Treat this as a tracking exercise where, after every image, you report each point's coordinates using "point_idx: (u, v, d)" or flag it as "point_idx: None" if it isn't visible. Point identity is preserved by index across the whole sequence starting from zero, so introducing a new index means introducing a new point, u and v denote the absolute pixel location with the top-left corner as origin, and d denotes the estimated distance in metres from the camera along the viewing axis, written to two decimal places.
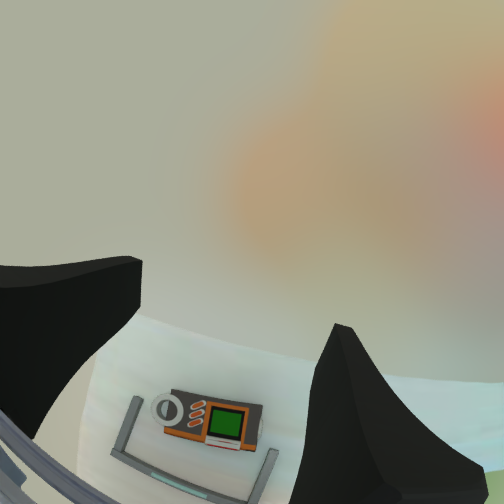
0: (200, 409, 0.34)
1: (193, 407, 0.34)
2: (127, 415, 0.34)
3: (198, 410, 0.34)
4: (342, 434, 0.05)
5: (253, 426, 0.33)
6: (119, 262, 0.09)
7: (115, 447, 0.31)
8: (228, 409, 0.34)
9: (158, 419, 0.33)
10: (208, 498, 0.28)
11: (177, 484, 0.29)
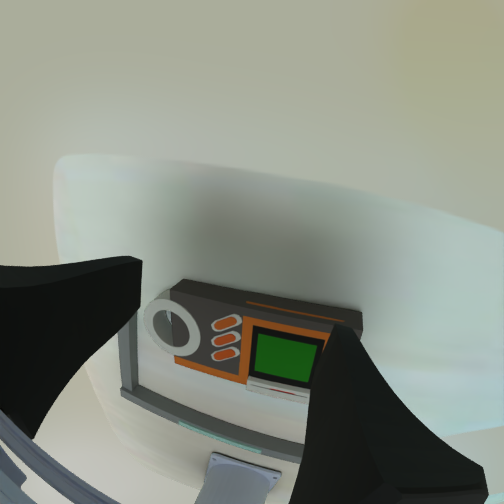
0: (231, 331, 0.18)
1: (217, 327, 0.18)
2: (120, 343, 0.23)
3: (228, 333, 0.18)
4: (342, 434, 0.05)
5: None
6: (119, 262, 0.09)
7: (124, 385, 0.25)
8: (289, 334, 0.17)
9: (161, 343, 0.21)
10: (263, 452, 0.22)
11: (217, 436, 0.23)
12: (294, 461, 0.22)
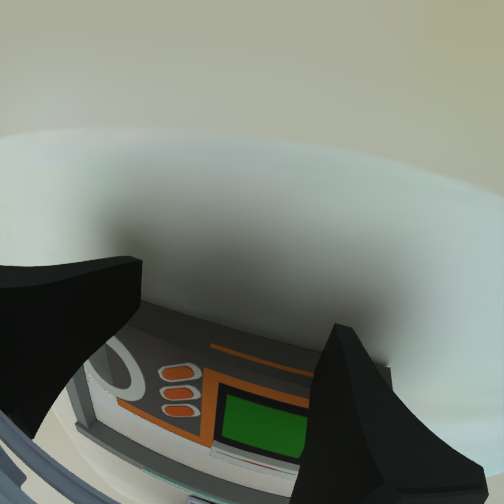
0: (186, 385, 0.11)
1: (166, 375, 0.11)
2: None
3: (182, 386, 0.11)
4: (342, 434, 0.05)
5: None
6: (119, 262, 0.09)
7: (79, 420, 0.18)
8: (275, 402, 0.10)
9: (99, 379, 0.13)
10: None
11: (189, 489, 0.16)
12: None
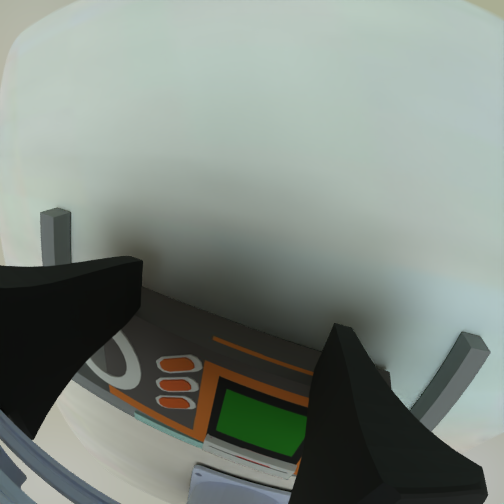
0: (185, 378, 0.11)
1: (164, 366, 0.11)
2: None
3: (180, 378, 0.11)
4: (341, 434, 0.05)
5: None
6: (119, 262, 0.09)
7: None
8: (275, 399, 0.10)
9: (92, 365, 0.13)
10: None
11: (197, 442, 0.13)
12: None
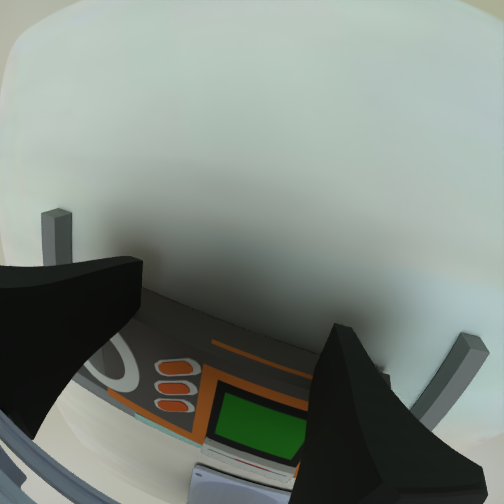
0: (183, 381, 0.11)
1: (162, 369, 0.11)
2: None
3: (179, 381, 0.11)
4: (341, 434, 0.05)
5: None
6: (119, 262, 0.09)
7: None
8: (274, 403, 0.10)
9: (90, 368, 0.13)
10: None
11: None
12: None
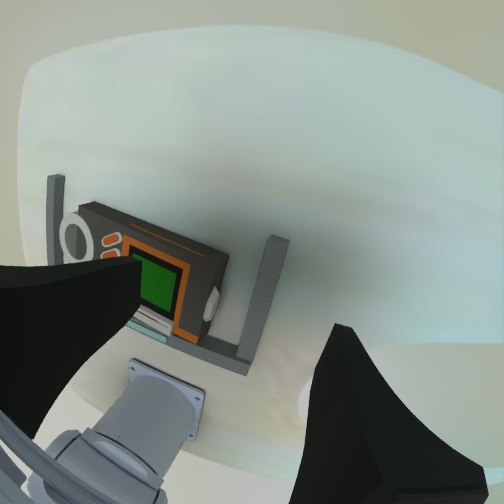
0: (114, 248, 0.20)
1: (105, 242, 0.20)
2: (47, 211, 0.22)
3: (112, 249, 0.20)
4: (342, 434, 0.05)
5: (195, 302, 0.19)
6: (119, 262, 0.09)
7: None
8: (155, 258, 0.19)
9: (68, 255, 0.22)
10: (170, 342, 0.22)
11: None
12: (206, 359, 0.21)
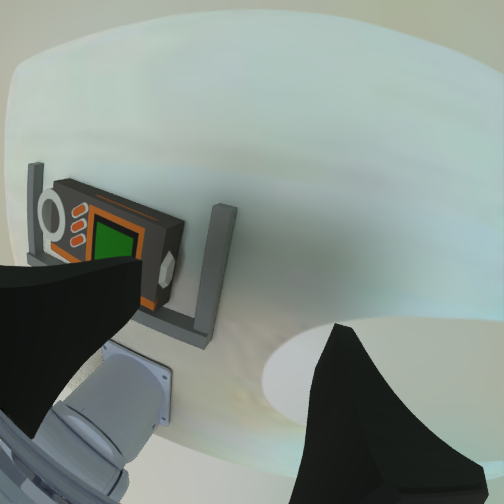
0: (81, 218, 0.20)
1: (74, 213, 0.20)
2: (28, 196, 0.22)
3: (80, 220, 0.20)
4: (342, 434, 0.05)
5: (150, 267, 0.19)
6: (119, 262, 0.09)
7: (30, 250, 0.24)
8: (115, 224, 0.19)
9: (44, 229, 0.22)
10: (133, 315, 0.22)
11: None
12: (165, 331, 0.21)
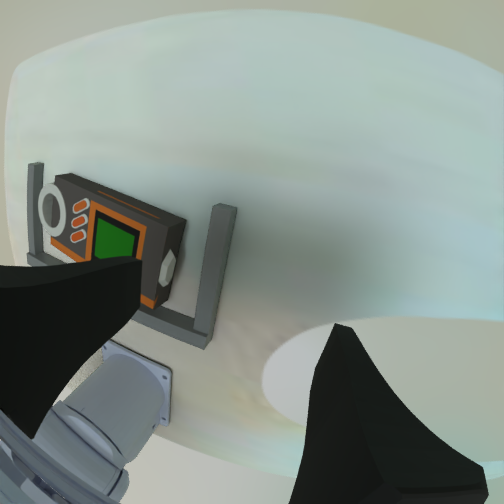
0: (82, 214, 0.20)
1: (75, 209, 0.20)
2: (28, 196, 0.22)
3: (81, 215, 0.20)
4: (342, 434, 0.05)
5: (151, 265, 0.19)
6: (119, 262, 0.09)
7: (30, 250, 0.24)
8: (116, 221, 0.19)
9: (44, 224, 0.22)
10: (133, 315, 0.22)
11: None
12: (165, 331, 0.21)
